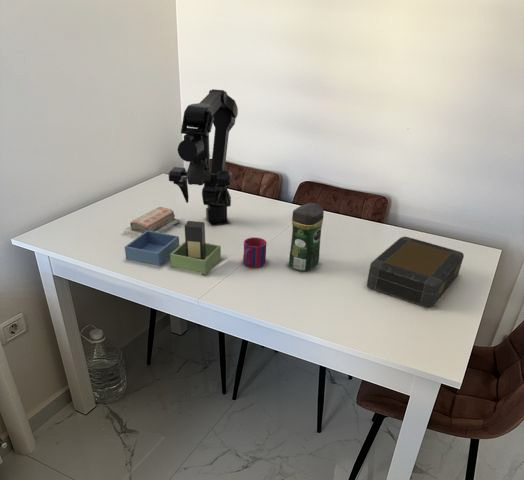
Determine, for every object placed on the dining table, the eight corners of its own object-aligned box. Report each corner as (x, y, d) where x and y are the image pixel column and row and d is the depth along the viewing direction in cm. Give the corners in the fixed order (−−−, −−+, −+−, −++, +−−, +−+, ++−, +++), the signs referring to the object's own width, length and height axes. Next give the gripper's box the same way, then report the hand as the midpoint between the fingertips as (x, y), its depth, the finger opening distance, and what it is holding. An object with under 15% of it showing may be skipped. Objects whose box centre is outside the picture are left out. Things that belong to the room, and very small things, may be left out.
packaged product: (156, 203, 174) (179, 209, 171) (157, 216, 177) (180, 223, 174) (121, 220, 161) (146, 227, 158) (123, 234, 164) (147, 241, 161)
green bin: (187, 253, 155) (187, 239, 152) (220, 259, 152) (220, 245, 150) (171, 268, 146) (169, 254, 144) (205, 275, 144) (205, 261, 141)
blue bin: (148, 243, 159) (146, 230, 157) (179, 249, 157) (178, 236, 154) (126, 260, 149) (124, 246, 146) (159, 267, 146) (158, 253, 144)
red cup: (269, 261, 152) (270, 241, 148) (251, 274, 145) (251, 252, 141) (251, 255, 155) (252, 235, 151) (232, 267, 148) (232, 246, 144)
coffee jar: (299, 256, 156) (305, 198, 145) (322, 263, 153) (329, 204, 142) (283, 267, 150) (288, 207, 138) (306, 275, 146) (313, 214, 135)
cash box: (395, 256, 159) (400, 233, 154) (458, 275, 150) (466, 252, 145) (362, 286, 142) (366, 262, 137) (430, 310, 133) (438, 285, 128)
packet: (189, 258, 151) (187, 220, 144) (205, 259, 150) (204, 222, 143) (186, 264, 148) (184, 226, 140) (203, 265, 147) (201, 227, 140)
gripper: (161, 157, 141) (165, 210, 151) (225, 162, 140) (226, 215, 149) (171, 147, 150) (175, 198, 160) (232, 151, 149) (232, 202, 158)
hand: (201, 203), depth 157 cm, fingers open, 9 cm apart
